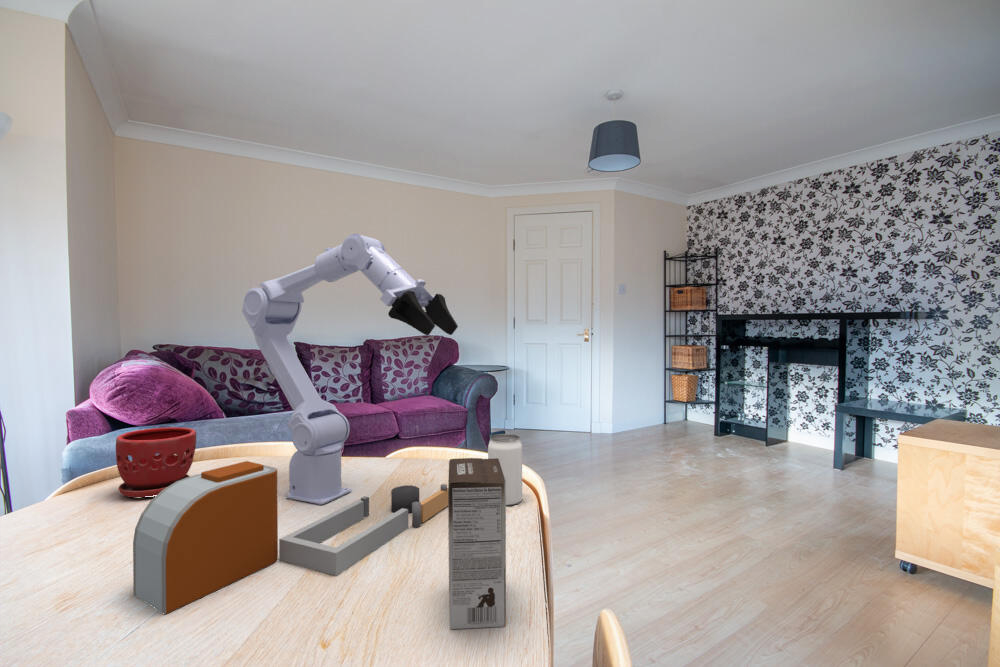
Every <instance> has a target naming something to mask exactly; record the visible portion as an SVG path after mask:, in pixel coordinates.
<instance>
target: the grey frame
mask: <svg viewBox="0 0 1000 667" xmlns="http://www.w3.org/2000/svg"><path fill="white" fill-rule="evenodd" d="M369 516H370V497H369V496H362V497H360V500H359V499H358V500H356V501H354V502H352V503H350V504H348V505H346V506H344V507H341V508H339V509H337V510H335V511H334V512H331V513H330V514H327V515H325V516H324V517H323V516H322V518H319V519H317V520H315V521H313V522H311V523H309V524H307V525H305V526H303V527H301V528H299V529H296V530H295V531H293V532H290V533H289V534H286V535H285V536H282V537H280V538H278V542H279V543H278V549H279V550H278V552H279V553H278V555H279V556H278V557H279V558H278V559H279V561H280V562H284V563H288V564H291V565H295V566H298V567H302V568H306V569H310V570H314V571H317V572H321V573H324V574H329V575H332V576H338V575H340V574H341V573H343V572H344V571H346V570H348V569H349V568H350V567H352V566H354V565H355V564H357V563H358V562H359V561H360V560H362V559H364V558H365V557H366V556H368V555H370V554H371V553H373V552H374V551H376V550H377V549H379V548H380V547H382V546H383V545H384V544H386V543H387V542H389V541H391V540H392V539H394V538H395V537H397V536H398V535H399V534H401V533H403V532H404V531H406V530H407V529H409V514H408V509H404V508H402V509H400V510H398V511H397V512H395V513H393V512H392V514H390V515H388V516H386V517H385V518H383V519H382V520H380V521H378V522H376V523H375V524H373V525H371V526H370V527H368V528H366V529H365V530H363V531H361V532H360V533H358V534H356V535H355V536H352V537H351V538H349V539H347V540H346V541H345V542H343V543H341V544H339V545H338V546H330V545H327V544H322V543H323V542H324V541H326V540H328V539H330V538H331V537H334V536H335V535H337V534H339V533H340V532H342V531H344V530H346V529H348V528H350V527H351V526H354V525H355V524H357V523H359V522H360V521H362V520H364V519H365V518H367V517H369Z"/></svg>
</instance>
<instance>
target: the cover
mask: <svg viewBox="0 0 1000 667" xmlns="http://www.w3.org/2000/svg"><path fill="white" fill-rule="evenodd" d="M447 507H448V484H440V489H439V490H438V491H437V492H435V493H434V494H432V495H430V496H428V497H427V498H425V499H423V500H422V501H419V502H413V503H412V513H411V520H412V521H411V524H412V525H411V526H412V527H415V528H416V527H420V526H421V525H422V523H424V522H426V521H428V520H429V519H430V518H432V517H433V516H435V515H436V514H438V513H440V512H441V511H442V510H444V509H445V508H447Z"/></svg>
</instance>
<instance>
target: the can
mask: <svg viewBox="0 0 1000 667" xmlns="http://www.w3.org/2000/svg"><path fill="white" fill-rule="evenodd" d="M489 439H490V440H489V442H488V445H487V459H494V458H498V459H499V462H500V465H501V468H502V471H503V475H504V478H505V481H506V507H509V506H515V505H518V504H519V503H521V502H522V500H523V445H522V442H521V440H520V436H519V435H517V434H511V433H498V434H494V435H493V434H492V435H491V436H490V437H489Z"/></svg>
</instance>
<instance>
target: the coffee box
mask: <svg viewBox="0 0 1000 667" xmlns="http://www.w3.org/2000/svg"><path fill="white" fill-rule="evenodd" d="M447 488H448V506H447V507H448V511H447V512H448V518H447V519H448V526H447V527H448V539H447V540H448V595H449V596H448V597H449V598H448V599H449V605H448V608H449V609H448V610H449V611H448V612H449V629H450V630H462V629H463V630H464V629H482V628H484V629H485V628H499V627H500V628H502V627H506V625H507V618H506V617H507V616H506V615H507V611H506V610H507V609H506V607H507V606H506V603H507V602H506V601H507V600H506V599H507V597H506V596H507V594H506V593H507V592H506V590H507V584H506V583H507V582H506V581H507V580H506V578H507V577H506V576H507V573H506V572H507V571H506V570H507V568H506V567H507V561H506V560H507V551H506V550H507V549H506V548H507V547H506V546H507V541H506V540H507V530H506V529H507V521H506V520H507V516H506V514H507V512H506V510H507V508H506V507H507V506H506V481H505V478H504V475H503V471H502V468H501V465H500V462H499V459H498V458H494V459H488V458H481V457H475V458H474V457H467V458H466V457H464V458H450V459H449V461H448V484H447Z"/></svg>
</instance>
